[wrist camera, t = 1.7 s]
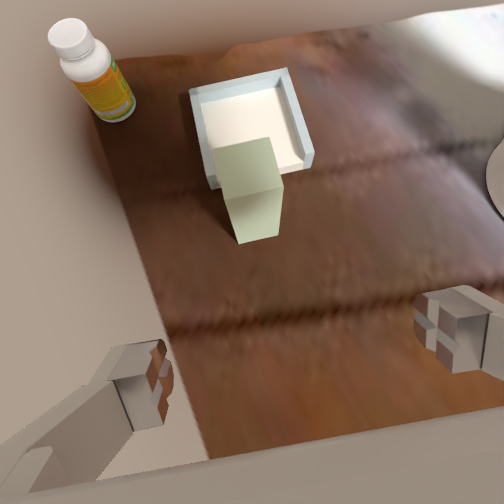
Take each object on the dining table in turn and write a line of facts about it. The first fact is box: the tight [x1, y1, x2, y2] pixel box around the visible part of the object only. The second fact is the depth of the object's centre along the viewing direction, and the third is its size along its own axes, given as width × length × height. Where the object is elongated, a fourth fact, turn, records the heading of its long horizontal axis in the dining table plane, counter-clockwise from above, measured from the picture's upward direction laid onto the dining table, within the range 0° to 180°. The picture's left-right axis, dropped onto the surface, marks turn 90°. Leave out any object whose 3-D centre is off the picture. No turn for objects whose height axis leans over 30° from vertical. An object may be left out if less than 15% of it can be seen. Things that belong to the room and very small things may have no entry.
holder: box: [189, 68, 315, 190], centre depth 34 cm, size 12×12×3 cm
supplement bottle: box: [48, 18, 136, 122], centre depth 33 cm, size 5×5×10 cm
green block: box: [213, 137, 284, 244], centre depth 27 cm, size 4×4×11 cm
